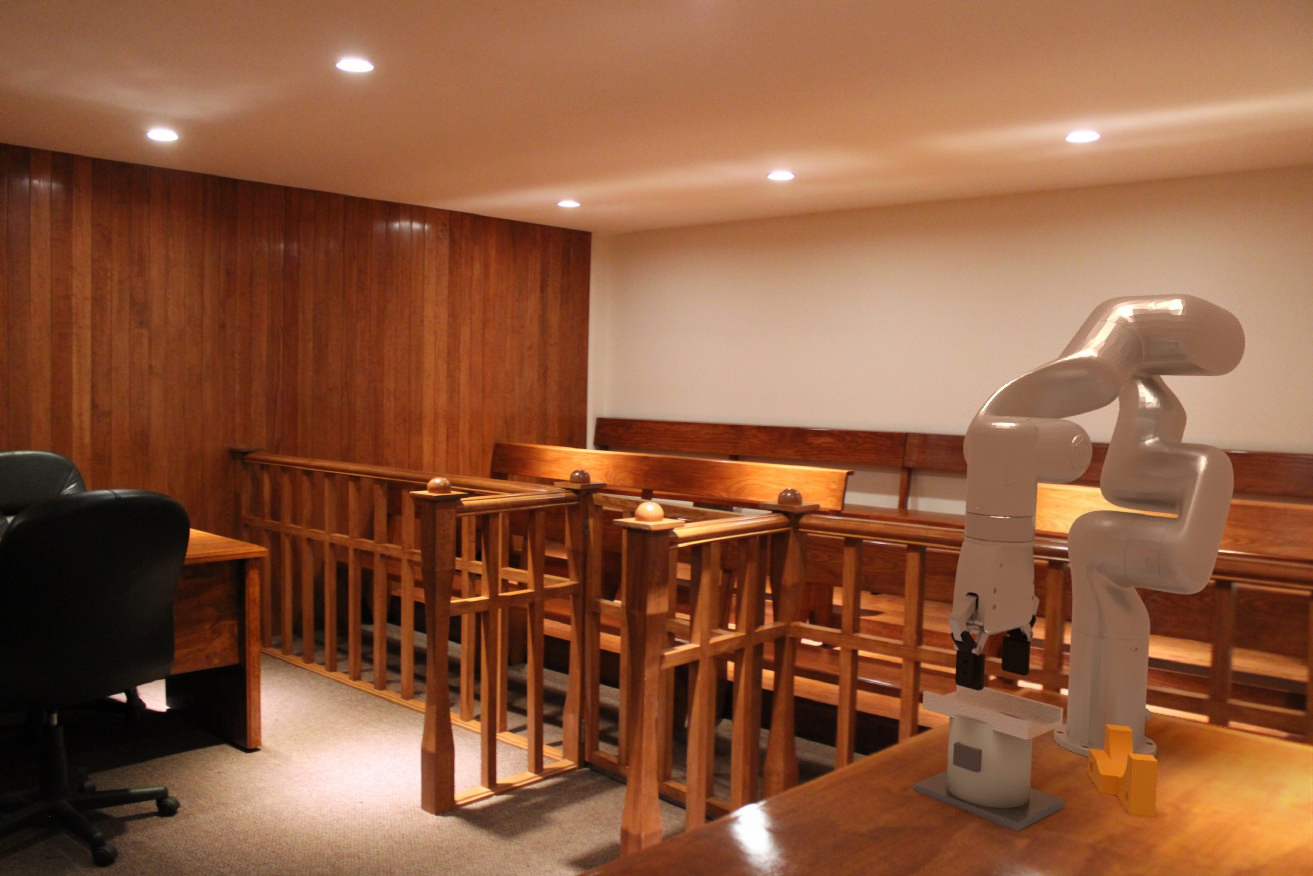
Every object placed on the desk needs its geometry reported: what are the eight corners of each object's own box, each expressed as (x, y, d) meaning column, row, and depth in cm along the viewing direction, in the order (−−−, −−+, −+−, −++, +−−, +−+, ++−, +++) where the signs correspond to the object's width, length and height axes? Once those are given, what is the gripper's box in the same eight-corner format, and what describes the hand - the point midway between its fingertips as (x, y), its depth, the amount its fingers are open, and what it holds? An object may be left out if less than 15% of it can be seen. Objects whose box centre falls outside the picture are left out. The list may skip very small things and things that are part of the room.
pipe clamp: (1087, 774, 125) (1090, 723, 124) (1125, 778, 124) (1128, 726, 124) (1112, 814, 113) (1115, 757, 113) (1154, 818, 112) (1157, 761, 112)
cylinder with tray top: (961, 772, 124) (965, 678, 123) (1063, 807, 114) (1068, 706, 113) (913, 792, 117) (917, 693, 116) (1017, 831, 107) (1022, 723, 107)
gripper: (1009, 520, 122) (1002, 660, 123) (926, 530, 111) (920, 685, 112) (1069, 528, 117) (1061, 675, 118) (988, 540, 105) (981, 702, 106)
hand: (992, 679), depth 115 cm, fingers open, 9 cm apart
